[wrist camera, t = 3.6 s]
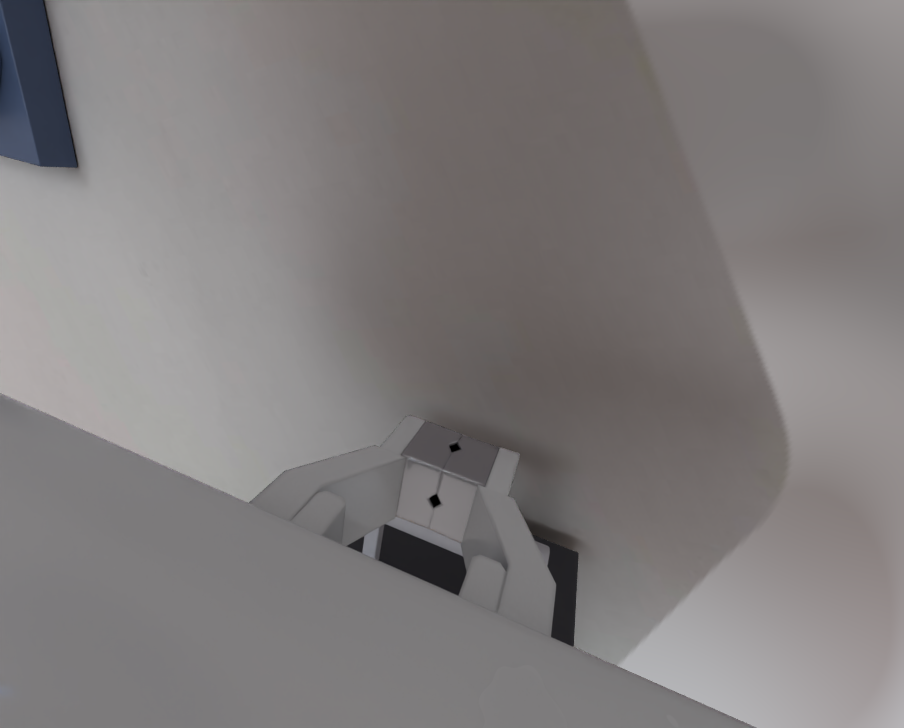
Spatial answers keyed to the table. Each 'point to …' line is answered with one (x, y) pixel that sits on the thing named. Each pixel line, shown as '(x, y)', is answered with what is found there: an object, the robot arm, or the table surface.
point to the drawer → (446, 567)
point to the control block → (31, 89)
